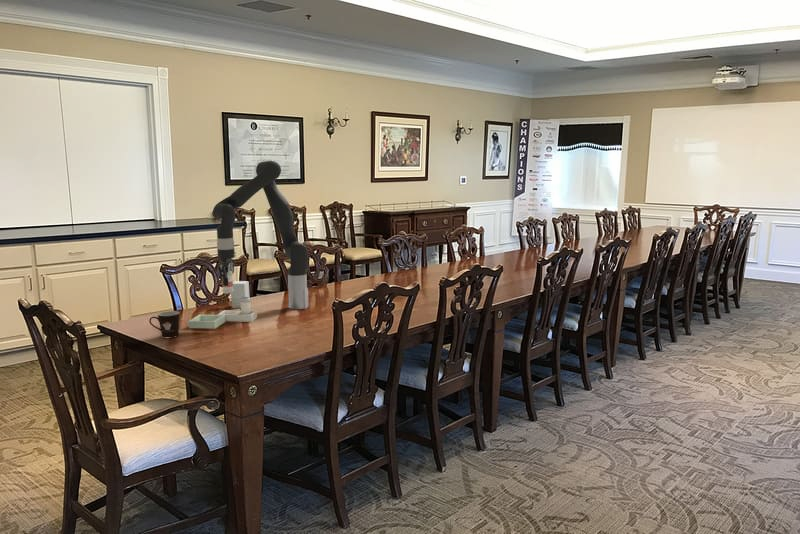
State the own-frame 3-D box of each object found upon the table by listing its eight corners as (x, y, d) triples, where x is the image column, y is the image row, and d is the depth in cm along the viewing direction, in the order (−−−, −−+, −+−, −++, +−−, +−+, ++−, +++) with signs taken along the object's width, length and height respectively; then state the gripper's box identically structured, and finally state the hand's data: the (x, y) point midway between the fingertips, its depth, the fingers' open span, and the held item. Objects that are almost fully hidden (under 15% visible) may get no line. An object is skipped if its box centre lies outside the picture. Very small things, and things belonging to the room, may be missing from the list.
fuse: (252, 318, 289) (251, 297, 287) (249, 320, 284) (248, 299, 282) (242, 317, 289) (241, 296, 288) (239, 320, 285) (238, 299, 283)
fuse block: (257, 319, 290) (257, 311, 290) (251, 323, 283) (251, 315, 282) (224, 318, 292) (223, 310, 291) (217, 322, 284) (217, 314, 283)
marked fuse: (235, 291, 287) (234, 270, 286) (231, 293, 283) (230, 272, 281) (225, 291, 288) (223, 270, 286) (221, 293, 283) (220, 272, 282)
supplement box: (250, 304, 320) (249, 280, 318) (245, 308, 313) (244, 283, 310) (236, 304, 321) (235, 280, 318) (231, 307, 313) (230, 283, 311)
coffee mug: (185, 334, 265) (183, 311, 263) (171, 340, 257) (170, 316, 255) (163, 332, 269) (161, 309, 267) (149, 337, 261) (147, 314, 259)
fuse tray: (225, 323, 283) (225, 315, 282) (215, 330, 271) (214, 321, 270) (200, 323, 284) (199, 314, 283) (188, 330, 272) (188, 321, 271)
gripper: (228, 250, 274) (230, 287, 277) (239, 245, 288) (241, 281, 291) (211, 250, 275) (213, 287, 278) (223, 245, 289) (225, 281, 292)
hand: (227, 284), depth 285 cm, fingers closed on marked fuse, 4 cm apart
